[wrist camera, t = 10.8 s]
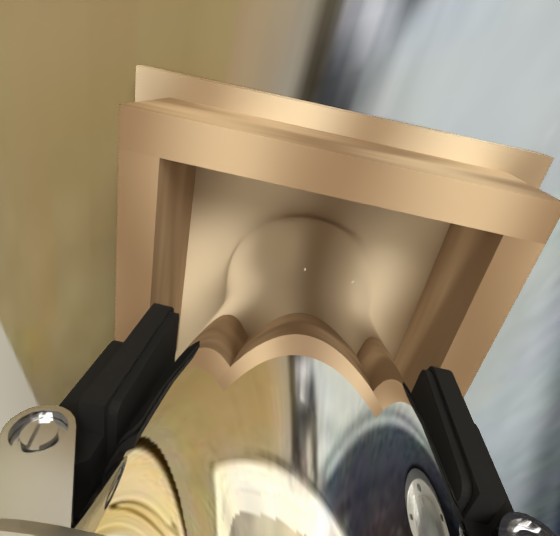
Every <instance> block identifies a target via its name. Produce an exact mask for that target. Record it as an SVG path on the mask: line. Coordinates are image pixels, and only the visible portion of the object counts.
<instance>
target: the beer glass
mask: <svg viewBox="0 0 560 536" xmlns="http://www.w3.org/2000/svg"><path fill="white" fill-rule="evenodd" d="M372 294H373V278H372V272H371V267H370V264H369V261H368V259H367V257H366V255H365V253H364V251H363V250H362V248H361V247H360V245H359V244H358V243H357V242H356V241H355V240H354V239H353V238H352V237H351V236H350V235H349V234H348V233H347V232H345V231H344V230H342V229H341V228H339V227H338V226H336V225H334V224H332V223H330V222H327V221H324V220H321V219H317V218H313V217H305V216H292V217H284V218H280V219H276V220H273V221H270V222H268V223H265V224H263V225H261V226H260V227H258V228H256V229H255V230H253V231H252V232H251V233H250V234H248V235H247V236H246V237H245V238H244V239H243V240H242V241H241V243H240V244H239V245H238V247H237V248H236V250H235V252H234V254H233V256H232V258H231V261H230V264H229V267H228V272H227V279H226V293H225V300H224V302H223V304H222V306H221V307H220V309H219V310H218V311H217V312H216V314H215V315H214V316H213V318H212V319H211V320H210V321H209V322H208V323H207V325H206V326H205V327H204V328H203V329H202V330H201V332H200V333H199V334H198V335H197V336H196V337H195V338H194V340H193V341H192V342H191V343H190V344H189V346H188V347H187V348H186V349H185V350H184V352H183V353H182V354H181V355H180V356H179V358H178V359H177V360H176V361H175V362H174V363H173V365H172V366H171V367H170V368H169V369H168V371H167V372H166V373H165V375H164V376H163V378H162V379H161V380H160V382H159V383H158V384H157V386H156V387H155V388H154V390H153V391H152V393H151V394H150V395H149V397H148V398H147V399H146V401H145V402H144V403H143V405H142V406H141V408H140V409H139V410H138V412H137V413H136V414H135V416H134V417H133V419H132V420H131V422H130V424H129V426H128V427H127V429H126V431H125V432H124V434H123V436H122V437H121V439H120V441H119V442H118V444H117V446H116V447H115V449H114V451H113V452H112V454H111V456H110V458H109V459H108V461H107V463H106V464H105V466H104V468H103V469H102V471H101V473H100V474H99V476H98V478H97V480H96V481H95V483H94V485H93V487H92V489H91V491H90V493H89V495H88V497H87V499H86V501H85V503H84V505H83V507H82V508H81V510H80V512H79V514H78V516H77V518H76V520H75V522H74V524H73V526H72V528H74V529H78V530H83V531H88V532H93V533H98V534H103V535H106V536H469V535H468V532H467V528H466V525H465V523H464V520H463V517H462V514H461V511H460V509H459V506H458V503H457V500H456V497H455V495H454V492H453V489H452V486H451V483H450V481H449V478H448V475H447V472H446V469H445V466H444V464H443V461H442V458H441V456H440V453H439V451H438V449H437V446H436V444H435V442H434V440H433V438H432V436H431V434H430V432H429V429H428V427H427V425H426V423H425V421H424V419H423V417H422V415H421V412H420V410H419V408H418V406H417V404H416V402H415V400H414V398H413V396H412V394H411V392H410V390H409V389H408V387H407V385H406V383H405V381H404V380H403V378H402V376H401V374H400V372H399V370H398V369H397V367H396V365H395V363H394V361H393V359H392V358H391V356H390V354H389V352H388V351H387V349H386V347H385V345H384V344H383V342H382V340H381V338H380V337H379V335H378V333H377V331H376V329H375V327H374V325H373V323H372V320H371V317H370V309H371V302H372Z"/></svg>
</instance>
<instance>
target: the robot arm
mask: <svg viewBox="0 0 560 536" xmlns="http://www.w3.org/2000/svg"><path fill="white" fill-rule="evenodd" d="M178 325H179V313H174V308H173V307H170V306H166V305H162V304H157V303H154V304H153V305H152V306H151V307H150V308H149V310H148V311H147V312H146V314H145V315H144V316H143V317H142V319H141V320H140V321H139V323H138V324H137V325H136V327H135V328H134V329H133V331H132V332H131V333H130V334H129V336H128V337H127V338H126V340H125V341H124V342H120V341H116V340H115V341H112V342H111V343H110V344H109V345H108V346H107V347H106V349H105V350H104V351H103V352H102V354H101V355H100V356H99V357H98V359H97V360H96V361H95V362H94V363H93V365H92V366H91V367H90V368H89V370H88V371H87V372H86V373H85V375H84V376H83V377H82V378H81V379H80V381H79V382H78V383H77V384H76V386H75V387H74V388H73V389H72V390H71V392H70V393H69V394H68V395H67V397H66V398H65V399H64V400H63V402H62V403H61V404H60V405H59V406H56V405H41V406H36V407H32V408H29V409H27V410H25V411H23V412H20V413H19V414H17V415H16V416H14V417H13V418H11V419H10V420H9V421H8V423H6V425H5V426H4V427H3V429H2V431H1V433H0V536H106V535H103V534H98V533H93V532H88V531H83V530H78V529H74V528H72V526H73V524H74V522H75V520H76V518H77V516H78V514H79V512H80V510H81V508H82V507H83V505H84V503H85V501H86V499H87V497H88V495H89V493H90V491H91V489H92V487H93V485H94V483H95V481H96V480H97V478H98V476H99V474H100V473H101V471H102V469H103V468H104V466H105V464H106V463H107V461H108V459H109V458H110V456H111V454H112V452H113V451H114V449H115V447H116V446H117V444H118V442H119V441H120V439H121V437H122V436H123V434H124V432H125V431H126V429H127V427H128V426H129V424H130V422H131V420H132V419H133V417H134V416H135V414H136V413H137V412H138V410H139V409H140V408H141V406H142V405H143V403H144V402H145V401H146V399H147V398H148V397H149V395H150V394H151V393H152V391H153V390H154V388H155V387H156V386H157V384H158V383H159V382H160V380H161V379H162V378H163V376H164V375H165V373H166V372H167V371H168V369H169V368H170V367H171V366H172V365H173V363H174V362H175V354H176V344H177V334H178ZM411 394H412V396H413V398H414V400H415V402H416V404H417V406H418V408H419V410H420V412H421V415H422V417H423V419H424V421H425V423H426V425H427V427H428V429H429V432H430V434H431V436H432V438H433V440H434V442H435V444H436V446H437V449H438V451H439V453H440V456H441V458H442V461H443V464H444V466H445V469H446V472H447V475H448V478H449V481H450V483H451V486H452V489H453V492H454V495H455V497H456V500H457V503H458V506H459V509H460V511H461V514H462V517H463V520H464V523H465V525H466V528H467V532H468V535H469V536H556V535H555V534H554V533H553V532H552V531H551V530H550V529H549V528H548V527H547V526H545V525H544V524H543V523H541V522H540V521H538V520H537V519H535V518H533V517H531V516H529V515H527V514H524V513H519V512H514V511H513V508H512V506H511V504H510V501H509V499H508V497H507V494H506V492H505V490H504V487H503V485H502V483H501V480H500V478H499V476H498V473H497V471H496V469H495V466H494V464H493V462H492V459H491V457H490V455H489V452H488V450H487V448H486V445H485V443H484V441H483V438H482V436H481V434H480V431H479V429H478V427H477V426H476V424H474V422H473V420H472V417H471V415H470V413H469V410H468V408H467V406H466V403H465V401H464V399H463V396H462V394H461V391H460V389H459V387H458V384H457V382H456V380H455V377H454V375H453V373H452V371H450V370H447V369H442V368H438V367H434V366H430V367H429V368H428V369H427V370H424V369H423V370H422V371H421V372H420V374H419V376H418V379H417V381H416V383H415V385H414V387H413V390H412V392H411Z"/></svg>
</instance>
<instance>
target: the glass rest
mask: <svg viewBox="0 0 560 536" xmlns="http://www.w3.org/2000/svg"><path fill="white" fill-rule="evenodd" d="M553 159H554V158H552V157H550V156H547V155H544V154H541V153H538V152H533V151H529V150H524V149H520V148H515V147H511V146H506V145H502V144H497V143H493V142H488V141H484V140H479V139H475V138H470V137H466V136H461V135H457V134H452V133H448V132H443V131H439V130H434V129H430V128H425V127H421V126H416V125H412V124H407V123H403V122H398V121H394V120H389V119H385V118H380V117H376V116H371V115H367V114H362V113H358V112H353V111H349V110H344V109H340V108H335V107H331V106H326V105H322V104H317V103H313V102H308V101H304V100H299V99H295V98H290V97H286V96H281V95H277V94H272V93H268V92H263V91H259V90H254V89H250V88H245V87H241V86H236V85H232V84H227V83H223V82H218V81H214V80H209V79H205V78H200V77H196V76H191V75H187V74H182V73H178V72H173V71H169V70H164V69H160V68H155V67H151V66H142V65H136V87H135V102H132V103H125V104H119V150H118V201H117V252H116V303H115V340H116V341H120V342H124V341H125V340H126V338H127V337H128V336H129V334H130V333H131V332H132V331H133V329H134V328H135V327H136V325H137V324H138V323H139V321H140V320H141V319H142V317H143V316H144V315H145V314H146V312H147V311H148V310H149V308H150V307H151V306H152V305H153V304H154V303H157V304H162V305H166V306H170V307H173V308H174V313H179V325H178V334H177V344H176V354H175V361H176V360H177V359H178V358H179V356H180V355H181V354H182V353H183V352H184V350H185V349H186V348H187V347H188V346H189V344H190V343H191V342H192V341H193V340H194V338H195V337H196V336H197V335H198V334H199V333H200V332H201V330H202V329H203V328H204V327H205V326H206V325H207V323H208V322H209V321H210V320H211V319H212V318H213V316H214V315H215V314H216V312H217V311H218V310H219V309H220V307H221V306H222V304H223V302H224V300H225V293H226V279H227V272H228V267H229V264H230V261H231V258H232V256H233V254H234V252H235V250H236V248H237V247H238V245H239V244H240V243H241V241H242V240H243V239H244V238H245V237H246V236H247V235H248V234H250V233H251V232H252V231H253V230H255V229H256V228H258V227H260V226H261V225H263V224H265V223H268V222H270V221H273V220H276V219H280V218H284V217H292V216H305V217H313V218H317V219H321V220H324V221H327V222H330V223H332V224H334V225H336V226H338V227H339V228H341V229H342V230H344V231H345V232H347V233H348V234H349V235H350V236H351V237H352V238H353V239H354V240H355V241H356V242H357V243H358V244H359V245H360V247H361V248H362V250H363V251H364V253H365V255H366V257H367V259H368V261H369V264H370V267H371V272H372V278H373V294H372V302H371V309H370V317H371V320H372V323H373V325H374V327H375V329H376V331H377V333H378V335H379V337H380V338H381V340H382V342H383V344H384V345H385V347H386V349H387V351H388V352H389V354H390V356H391V358H392V359H393V361H394V363H395V365H396V367H397V369H398V370H399V372H400V374H401V376H402V378H403V380H404V381H405V383H406V385H407V387H408V389H409V390H410V392H412V390H413V387H414V385H415V383H416V381H417V379H418V376H419V374H420V372H421V371H422V370H423V369H424V370H427V369H428V368H429V367H430V366H434V367H438V368H442V369H447V370H450V371H452V373H453V375H454V377H455V380H456V382H457V384H458V387H459V389H460V391H461V394H462V396H463V398H464V396H465V394H466V392H467V390H468V389H469V387H470V385H471V383H472V381H473V379H474V377H475V375H476V374H477V372H478V370H479V368H480V366H481V364H482V362H483V360H484V359H485V357H486V355H487V353H488V351H489V349H490V347H491V345H492V344H493V342H494V340H495V338H496V336H497V334H498V332H499V330H500V329H501V327H502V325H503V323H504V321H505V319H506V317H507V315H508V314H509V312H510V310H511V308H512V306H513V304H514V302H515V300H516V299H517V297H518V295H519V293H520V291H521V289H522V287H523V285H524V284H525V282H526V280H527V278H528V276H529V274H530V272H531V270H532V269H533V267H534V265H535V263H536V261H537V259H538V257H539V255H540V254H541V252H542V250H543V248H544V246H545V244H546V242H547V240H548V239H549V237H550V235H551V233H552V231H553V229H554V227H555V225H556V224H557V222H558V220H559V218H560V200H558V199H556V198H554V197H553V196H551V195H549V194H547V193H545V192H543V191H541V190H539V187H540V185H541V183H542V181H543V179H544V177H545V175H546V173H547V171H548V169H549V167H550V165H551V163H552V161H553Z"/></svg>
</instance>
